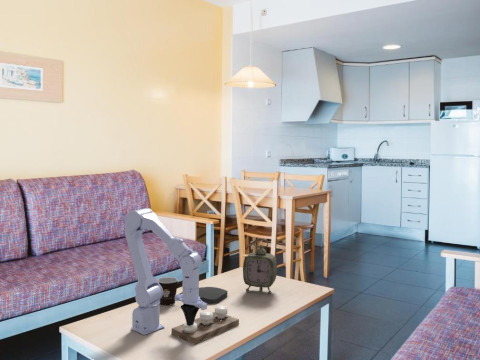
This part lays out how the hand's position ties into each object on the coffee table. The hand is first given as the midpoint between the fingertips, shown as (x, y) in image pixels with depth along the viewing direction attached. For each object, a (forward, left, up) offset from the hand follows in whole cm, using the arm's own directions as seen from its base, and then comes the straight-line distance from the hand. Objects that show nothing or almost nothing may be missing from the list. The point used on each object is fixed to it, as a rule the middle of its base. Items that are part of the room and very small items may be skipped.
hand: (190, 324), depth 158 cm
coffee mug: (+17, +30, -4) cm, 35 cm away
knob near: (0, 0, -4) cm, 4 cm away
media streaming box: (+34, +24, -5) cm, 41 cm away
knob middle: (+8, 0, -2) cm, 8 cm away
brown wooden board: (+8, 0, -4) cm, 9 cm away
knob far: (+16, 0, -2) cm, 16 cm away
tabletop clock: (+56, +12, -4) cm, 57 cm away
